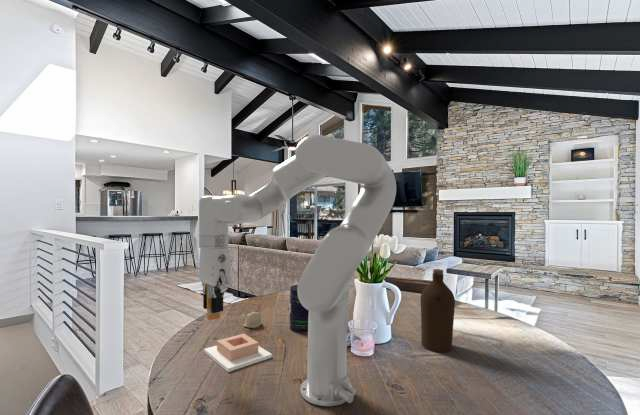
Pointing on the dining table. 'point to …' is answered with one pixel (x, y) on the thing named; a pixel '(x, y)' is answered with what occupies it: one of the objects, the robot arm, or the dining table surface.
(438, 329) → the olive oil
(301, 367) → the dining table surface
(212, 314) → the supplement box
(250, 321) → the decorative ornament
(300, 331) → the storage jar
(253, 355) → the socket holder
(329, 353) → the robot arm
